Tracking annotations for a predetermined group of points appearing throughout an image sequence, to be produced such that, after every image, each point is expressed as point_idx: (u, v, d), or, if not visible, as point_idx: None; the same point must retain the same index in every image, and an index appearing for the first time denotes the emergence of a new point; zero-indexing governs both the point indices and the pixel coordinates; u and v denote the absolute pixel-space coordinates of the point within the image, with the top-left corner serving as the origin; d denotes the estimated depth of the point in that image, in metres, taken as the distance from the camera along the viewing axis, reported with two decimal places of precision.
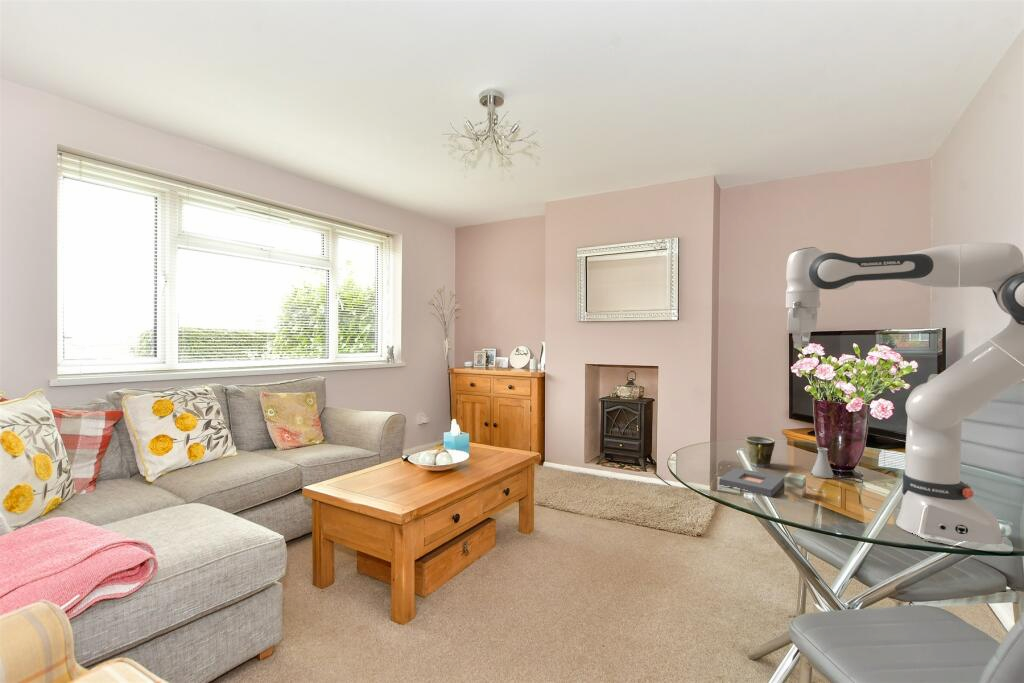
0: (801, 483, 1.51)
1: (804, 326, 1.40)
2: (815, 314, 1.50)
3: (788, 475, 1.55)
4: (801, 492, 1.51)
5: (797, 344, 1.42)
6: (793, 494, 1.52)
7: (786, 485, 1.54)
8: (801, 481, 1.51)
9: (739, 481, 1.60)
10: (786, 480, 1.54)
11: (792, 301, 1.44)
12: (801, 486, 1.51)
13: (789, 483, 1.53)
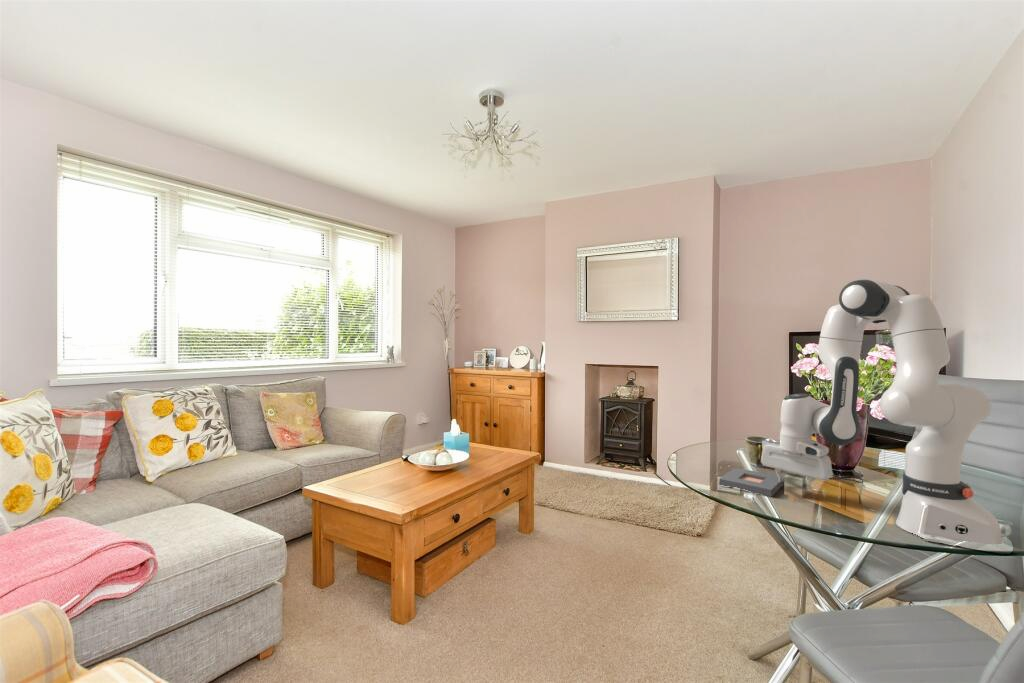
0: (801, 483, 1.51)
1: (774, 462, 1.58)
2: (818, 462, 1.47)
3: (788, 475, 1.55)
4: (801, 492, 1.51)
5: None
6: (793, 494, 1.52)
7: (785, 485, 1.54)
8: (801, 481, 1.51)
9: (739, 481, 1.60)
10: (785, 480, 1.54)
11: None
12: (801, 486, 1.51)
13: (789, 483, 1.53)
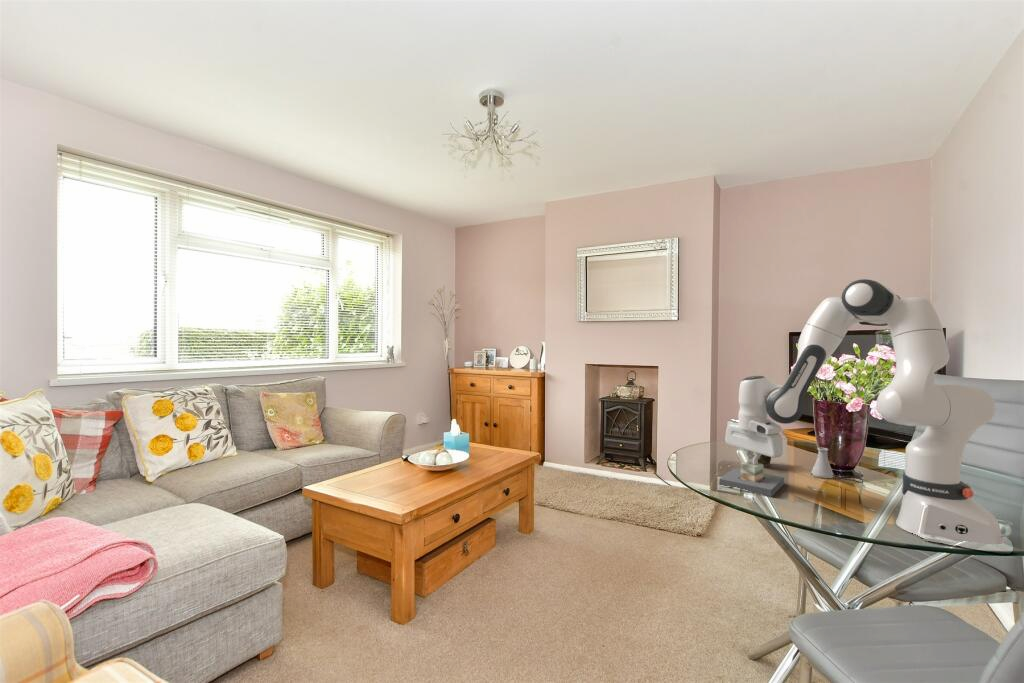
0: (753, 470, 1.59)
1: (734, 441, 1.67)
2: (768, 440, 1.55)
3: (745, 463, 1.64)
4: (754, 479, 1.60)
5: None
6: None
7: (741, 472, 1.63)
8: (753, 468, 1.59)
9: (739, 481, 1.60)
10: (741, 467, 1.63)
11: None
12: (754, 473, 1.60)
13: (744, 470, 1.62)
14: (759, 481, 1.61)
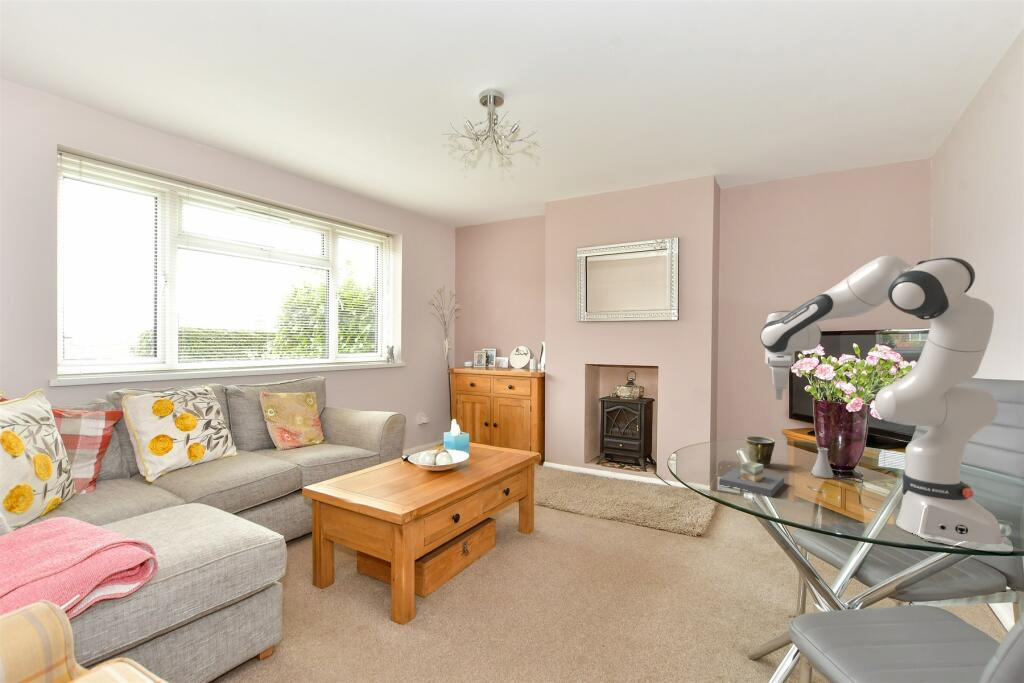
0: (754, 470, 1.59)
1: None
2: None
3: (745, 463, 1.64)
4: (754, 479, 1.60)
5: None
6: None
7: (741, 472, 1.63)
8: (754, 468, 1.59)
9: (739, 481, 1.60)
10: (741, 467, 1.63)
11: None
12: (754, 473, 1.60)
13: (744, 470, 1.62)
14: (759, 481, 1.61)
